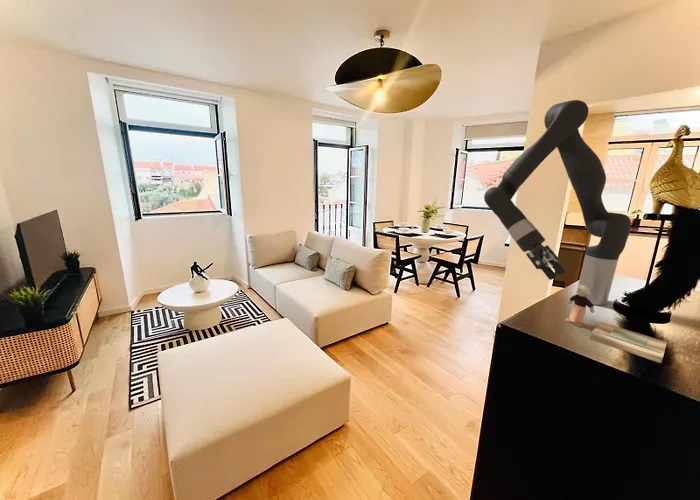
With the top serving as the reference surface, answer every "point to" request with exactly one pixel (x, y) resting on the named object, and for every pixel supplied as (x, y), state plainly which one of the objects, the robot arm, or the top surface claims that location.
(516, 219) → the robot arm
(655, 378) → the top surface
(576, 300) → the grandmother figurine
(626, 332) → the oak board
